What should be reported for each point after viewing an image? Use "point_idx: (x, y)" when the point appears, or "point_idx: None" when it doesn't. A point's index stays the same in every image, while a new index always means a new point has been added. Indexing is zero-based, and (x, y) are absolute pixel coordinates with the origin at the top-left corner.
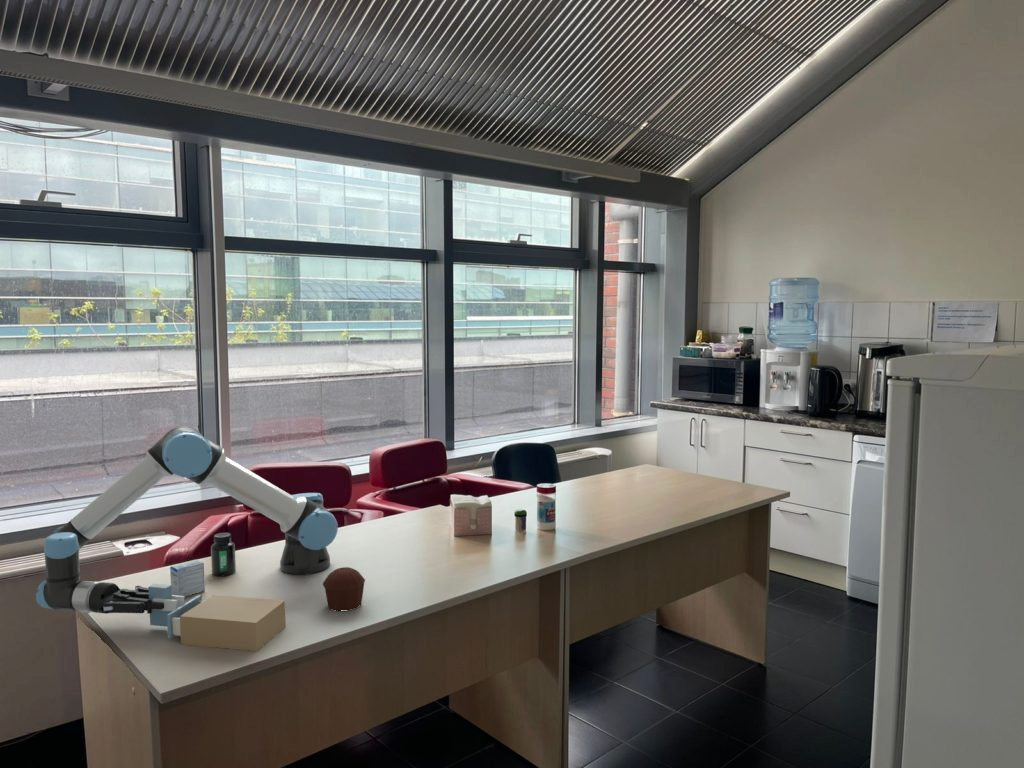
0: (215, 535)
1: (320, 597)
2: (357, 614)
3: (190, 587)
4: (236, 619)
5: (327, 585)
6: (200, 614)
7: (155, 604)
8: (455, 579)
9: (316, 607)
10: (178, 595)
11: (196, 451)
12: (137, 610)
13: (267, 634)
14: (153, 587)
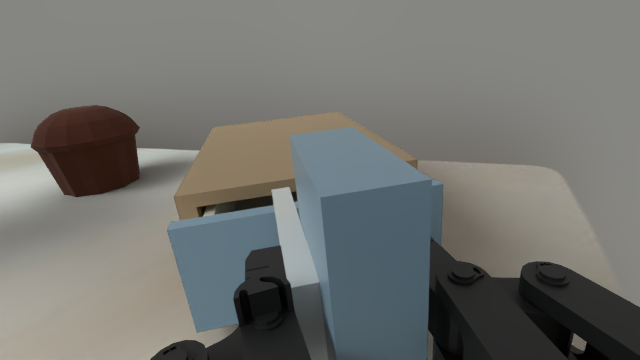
0: None
1: (29, 217)
2: (157, 164)
3: None
4: (342, 120)
5: (118, 130)
6: None
7: (434, 244)
8: (15, 160)
9: (107, 199)
10: (275, 204)
11: None
12: (591, 349)
13: None
14: (399, 160)
